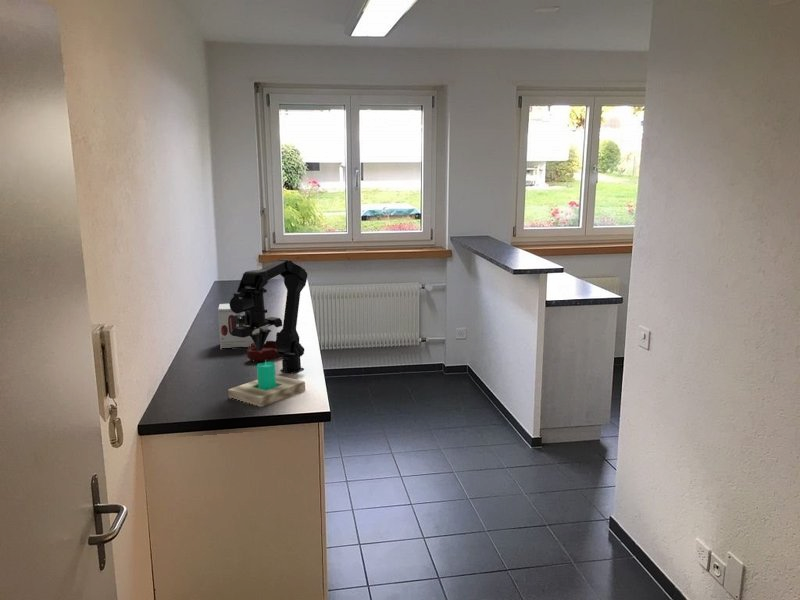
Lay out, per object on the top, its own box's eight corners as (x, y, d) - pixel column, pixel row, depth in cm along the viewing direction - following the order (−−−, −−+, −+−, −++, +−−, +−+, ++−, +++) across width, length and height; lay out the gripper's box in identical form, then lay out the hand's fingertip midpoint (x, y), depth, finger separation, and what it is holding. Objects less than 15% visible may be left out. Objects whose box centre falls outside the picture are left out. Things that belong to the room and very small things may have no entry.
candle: (277, 390, 224) (275, 357, 222) (275, 396, 218) (273, 361, 216) (260, 391, 224) (257, 357, 222) (257, 397, 218) (254, 362, 216)
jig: (273, 382, 234) (273, 374, 233) (305, 389, 224) (304, 381, 223) (228, 398, 218) (228, 389, 217) (260, 406, 208) (260, 397, 208)
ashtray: (287, 362, 260) (286, 350, 259) (246, 364, 259) (245, 352, 258) (291, 350, 277) (290, 339, 276) (253, 352, 276) (252, 341, 276)
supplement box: (220, 350, 281) (216, 309, 278) (221, 342, 294) (218, 303, 290) (260, 347, 284) (258, 306, 281) (260, 340, 297) (258, 301, 294)
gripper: (259, 300, 237) (263, 341, 241) (219, 310, 223) (223, 354, 226) (281, 302, 231) (284, 345, 234) (241, 313, 216) (245, 358, 219)
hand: (259, 350), depth 229 cm, fingers closed
